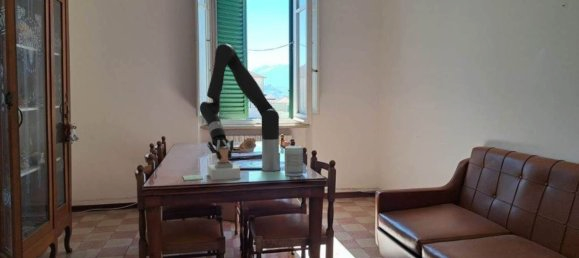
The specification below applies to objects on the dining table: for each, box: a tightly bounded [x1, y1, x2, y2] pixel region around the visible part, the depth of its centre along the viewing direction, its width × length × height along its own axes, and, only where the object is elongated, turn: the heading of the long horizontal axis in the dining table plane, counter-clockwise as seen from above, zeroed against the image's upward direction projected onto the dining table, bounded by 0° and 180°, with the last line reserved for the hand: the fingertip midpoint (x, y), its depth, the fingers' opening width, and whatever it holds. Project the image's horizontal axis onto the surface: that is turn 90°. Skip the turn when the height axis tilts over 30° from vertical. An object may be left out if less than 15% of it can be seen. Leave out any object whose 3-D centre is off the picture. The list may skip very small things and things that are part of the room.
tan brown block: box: [218, 146, 229, 164], centre depth 215 cm, size 5×5×10 cm
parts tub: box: [207, 160, 242, 181], centre depth 216 cm, size 16×13×7 cm
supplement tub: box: [284, 145, 304, 178], centre depth 219 cm, size 10×10×15 cm
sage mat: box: [182, 174, 204, 182], centre depth 211 cm, size 9×9×1 cm
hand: (225, 158), depth 213 cm, fingers closed on tan brown block, 4 cm apart
